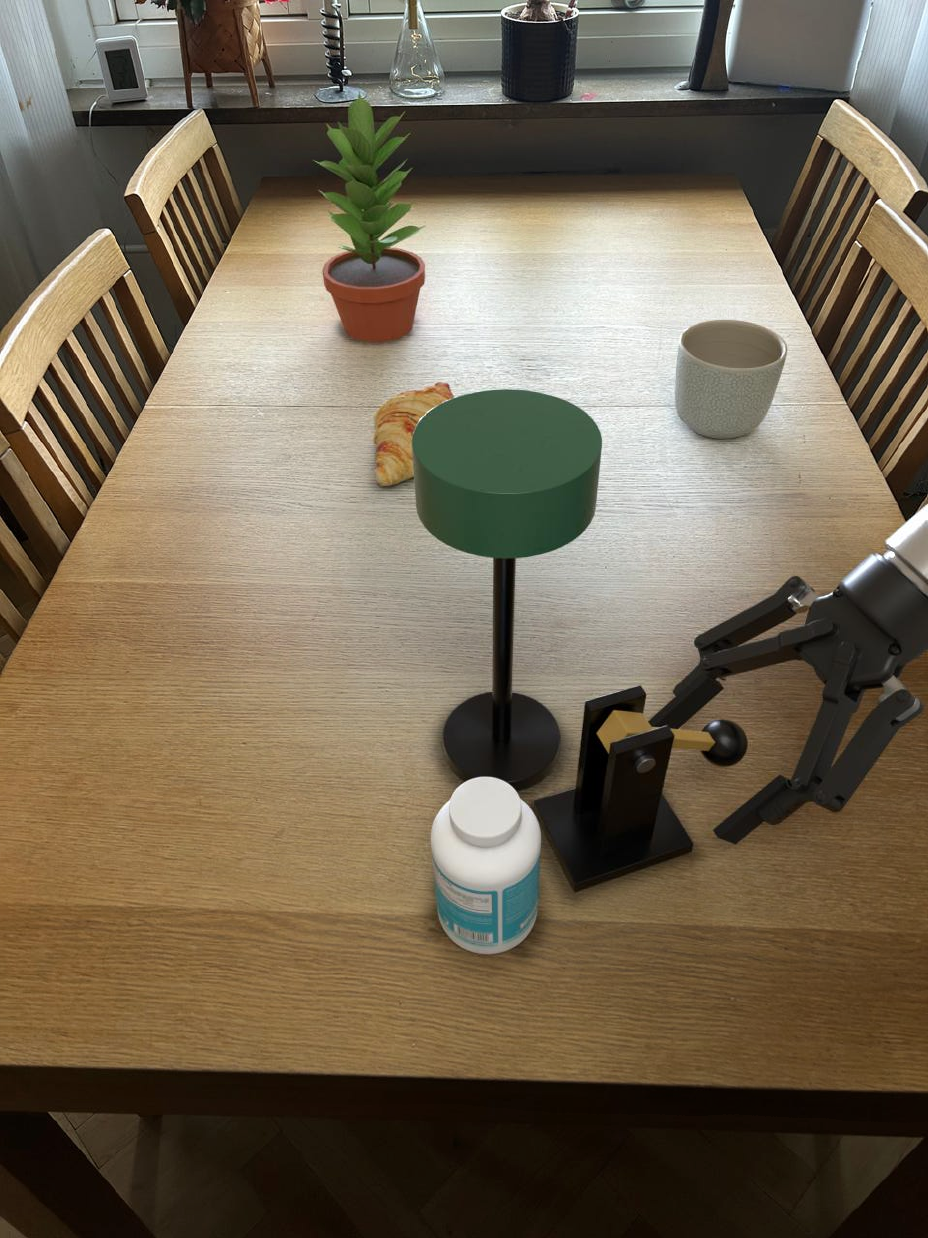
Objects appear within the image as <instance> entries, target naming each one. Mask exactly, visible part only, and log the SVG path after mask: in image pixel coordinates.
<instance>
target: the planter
mask: <svg viewBox="0 0 928 1238" xmlns="http://www.w3.org/2000/svg"><path fill="white" fill-rule="evenodd" d="M676 354H677V355H676V365H675V379H674V407H675V410H676V413H677V415H678V417H679V419H680V421H681V422H682V423H683V424H684V425H685V426H686V427H687V428H689V429H690V430H692V431H693V432H695V433H696V434H699V435H701V436H704V437H707V438H712V439H720V440H729V439H734V438H739V437H741V436H744V435H747V434H749V433H751V432H752V431H754V430H756V429H757V428H758V427H759V426H760V425H761V424H762V423H763V422H764V420H765V418H766V416H767V415H768V413H769V410H770V408H771V406H772V404H773V403H772V402H773V401H774V397H775V395H776V391H777V389H778V386H779V382H780V381H781V376H782V373H783V370H784V367H785V364H786V363H785V362H786V359H787V355H788V345H787V342H786V341H785V339H784V338H783V337H782V336H780V335H779V334H778V333H776V332H775V331H773V330H772V329H770V328H767V327H765V326H763V325H760V324H756V323H753V322H749V321H744V320H737V319H712V320H706V321H702V322H698V323H695V324H692V325H691V326H689V327H687V328H686V329H685V330H684V331H683V332H682V333H681V335H680V336H679V340H678V347H677V353H676Z"/></svg>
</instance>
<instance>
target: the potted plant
mask: <svg viewBox="0 0 928 1238" xmlns="http://www.w3.org/2000/svg"><path fill="white" fill-rule="evenodd" d="M405 113H406V111H403V112H402V114H401V115H400V116H397V115H396V116H391V117H389V118H388V119H386V121H385V122H384V123H383V124H381V127H380V128H379V129H378V130H377V131H376V133H375V122H374V121H375V119H374V113H373V109H372V106H371V104H370V102H369V101H367V100H365V99H363V97H362V95H361V91H358V96H357V99H355V100H353V101H352V102H351V103H350V104H349V106H348V112H347V115H348V116H347V118H348V119H347V120H348V121H347V122H348V127H345V126H344V125H342V123H340V121H337V124H338V128H332V127H331V126H330V125H329V124H328V123H325V124H326V126H327V129H328V131H327V136H328V138H329V139H330V141H331V142H332V143H333V145H334V146H335V147H336V149H337V150H338V152H339V153H340V155H341V157H342V159H341V160H340V161H338V163H337V162H334V161H330V160H322V161H320V162H319V161H316V160H314V159H312V161H313V162H315V163H317V164H319V165H320V166H321V167H323V168H325V169H327V170H328V171H330V172H331V173H333V174H335V175H337V176H339V177H340V178H342V179H344V182H345V184H344V186H345V187H344V189H345V192H346V195H347V196H348V198H347V197H346V196H344V195H342V194H340V193H338V192H335V191H327V192H323V191H321V190H320V189H318V192H319V193H320V194H322V195H323V196H324V197H325V198H326V199H327V201H330V202H331V203H332V204H334V205H335V206H336V208H339V209H340V210H341V211H343V212H344V213H343V212H340V213H333V212H331V211H330V210H327V212H328V213H329V214H330V220H331V221H332V222H333V223H334V224H336V225H337V226H338V227H339V228H340V229H341V230H343V231H344V232H345V233H346V234H347V235H349V237H350V240H351V242H352V246H353V247H354V248H352V247H349V246H346V245H339V246H338V248H339V249H340V250H341V249H342V250H345V251H343V252H340V253H339V254H336V255H334V256H332V257H330V258H329V259H328V260H327V261H326V262H324V265H323V267H322V270H321V271H322V281H323V285H324V288H325V290H326V292H328V293H329V294H330V295H331V297H332V300H333V302H334V303H333V304H334V306H335V308H336V310H337V313H338V317H339V318H340V321H341V323H342V326H343V328H344V331H345V334H346V335H348V336H349V337H350V338H352V339H355V340H357V341H359V342H367V343H384V342H385V343H386V342H392V341H395V340H398V339H401V338H403V337H404V336H406V335H408V334H410V332H411V331H412V329H413V327H414V321H415V316H416V311H417V306H418V301H419V297H420V293H421V288H422V287H423V286H424V285H425V284H426V283H425V282H426V263H425V262H424V260H423V259H422V257H421V256H419V255H417V254H416V253H414V252H413V251H409V250H406V249H403V248H399V247H398V248H397V247H392V246H395V245H397V244H399V243H400V242H402V241H404V240H406V239H408V238H410V237H413V236H415V235H416V234H417V233H419V232H420V231H421V230H422V229H423V228H425V227H427V224H426V225H422V226H420V227H418V226H416V225H407V226H403V227H400V228H399V229H396V230H394V231H392V232H390V233H388V234H386V235H384V234H385V233H386V232H388V231H389V230H391V228H392V227H393V226H394V225H395V224H397V223H398V222H399V221H400V220H401V219H403V218H404V216H406V215H407V213H409V212H410V211H411V210H412V206H413V205H414V203H415V202H416V199H415V200H413V201H412V202H410V203H396V204H395V202H396V200H395V201H393V202H392V201H391V199H392V198H393V196H394V195H395V194H396V192H397V191H398V190H399V188H400V187H401V186H402V181H403V180H404V179H405V178H406V177H407V175H408V174H409V173H410V172H411V170H412V169H413V167H410V168H409V169H408V170H406V171H402V170H401V171H400V169H401V168H402V167H403V166H404V165H405V162H407V159H406V160H404V161H403V162H402V163H401V164H400V165H399V166H397V167H396V168H395V169H393V170H392V171H391V172H390V173H389V174H388V175H387V176H386V177H385V178H384V179H383V180H381V182H379V184H377V183H378V175H377V169H379V168H380V167H381V165H383V163H384V162H385V161H386V160H387V159H388V158H389V157H390V156H391V155H392V154H393V153H394V152H395V151H396V150H397V149H398V148H399V147H400V145H401V144H402V143H403V142H404V141H405V140H406V139H407V138H408V136H409V135H410V134H411V132H409V133H408V134H407V135H405V136H404V137H403V136H394V137H392V138H391V139H389V140H388V141H386V139H387V138H388V136H389V135H390V134H391V133H392V131H393V130H394V128H395V127H396V125H397V124H398V122H400V120H401V119H402V117H403V116H404V114H405ZM385 141H386V143H384V142H385ZM383 144H384V145H383ZM394 204H395V205H394ZM383 235H384V237H383ZM381 237H382V238H381ZM379 238H381V239H379Z"/></svg>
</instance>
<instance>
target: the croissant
mask: <svg viewBox="0 0 928 1238" xmlns="http://www.w3.org/2000/svg"><path fill="white" fill-rule="evenodd" d="M452 398H455V395H454V394H453V392H452V390H451V385H450V384H449V382H442V381H437V382H436V383H434V385H430V386H426V387H424V388H423V389H416V390H415V389H413V390H408V391H404V392H400V393H398V394H396V395H394V396H392V397H390V398H389V399H387V400H386V401H385V402H384V403H382V404H381V406H380V407H379V408H378V409H377V410H376V412H375V413H374V415H373V429H374V436H373V444H374V445H375V446H376V452H375V454H374V461H375V463H376V468H375V470H374V474H375V481H376V482H377V483H378V484H379V486H382V487H388V486H393V485H397V484H399V483H401V482H403V481H407V480H410V479H412V478H414V469H413V454H412V436H413V432H414V429H415V427H416V425H417V424H418V422H419V421H420V420H421V418H422V417H423V416H424V415H425V414H426V413H427V412H429V411H430V410H431V409H433V408H434V407H436V406H437V405H439V404H441V403H443V402H445V401H447V400H450V399H452Z"/></svg>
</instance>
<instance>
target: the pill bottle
mask: <svg viewBox="0 0 928 1238" xmlns="http://www.w3.org/2000/svg"><path fill="white" fill-rule="evenodd" d="M430 851H431V860H432V871H433V881H434V890H435V902H436V910H437V916H438V921H439V923H440V925H441V927H442V929H443V931H444V933H445V934H446V936H447V937H448V938H449V939H450V940H451V941H452V942H453V943H454V944H456V945H457V946H458V947H460V948H462V949H464V950H466V951H467V952H468V951H469V952H471V953H474V954H478V955H495V954H501V953H504V952H507V951H509V950H512V949H513V948H515V947H517V946H518V945H519V944H521V943H522V942H523V941H524V940H525V939H526V938H527V937H528V935H529V934H530V933H531V931H532V930H533V928H534V925H535V923H536V920H537V917H538V909H539V893H540V891H539V890H540V872H541V871H540V870H541V869H540V868H541V851H542V833H541V827H540V822H539V820H538V818H537V816H536V814H535V812H534V810H533V809H532V808H530V806H529V805H528V804H527V803H526V802H525V801H524V800H522V799H521V798H520V795H519V794H518V791H517V792H516V790H515V789H514V788H513V787H512V786H511V785H509V784H508V783H506V782H505V781H503V780H500V779H497V778H493V777H478V778H474V779H470V780H468V781H466V782H464V781H463V783H462V784H461V783H460V785H459V786H458V787H457V788H456V789H455V790H454V792H453V793H452V795H451V797H450V799H449V800H448V801H447V802H445V804H444V805H443V806H442V807H441V808H440V810H439V811H438V813H437V814H436V816H435V818H434V820H433V822H432V826H431V830H430Z"/></svg>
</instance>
